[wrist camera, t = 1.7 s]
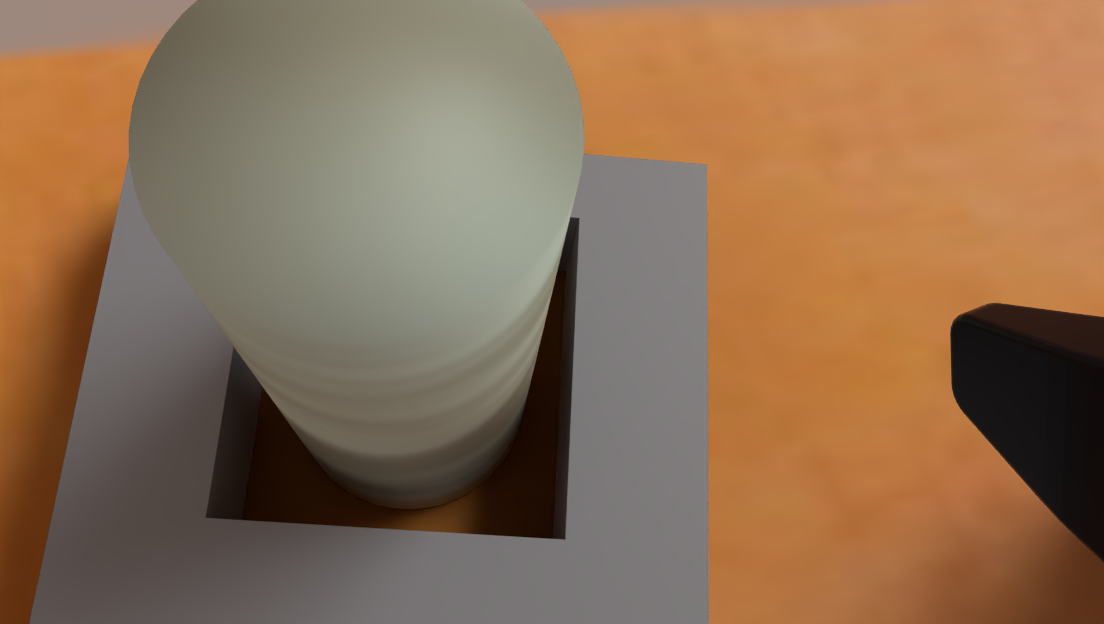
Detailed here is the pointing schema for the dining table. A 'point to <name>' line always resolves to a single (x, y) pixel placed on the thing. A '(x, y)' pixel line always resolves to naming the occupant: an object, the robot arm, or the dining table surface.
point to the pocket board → (389, 554)
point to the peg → (369, 217)
